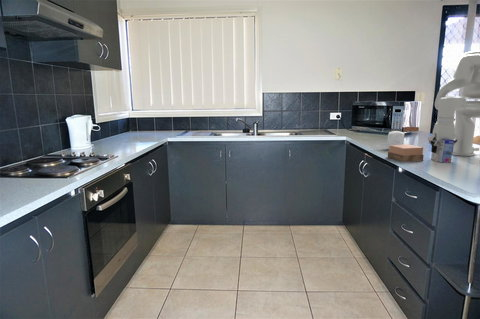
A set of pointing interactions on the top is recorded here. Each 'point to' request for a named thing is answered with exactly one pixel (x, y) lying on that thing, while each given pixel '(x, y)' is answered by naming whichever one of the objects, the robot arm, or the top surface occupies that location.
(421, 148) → the tower top
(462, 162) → the top surface
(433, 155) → the ink cartridge box
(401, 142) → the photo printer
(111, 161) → the top surface
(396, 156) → the tower base
